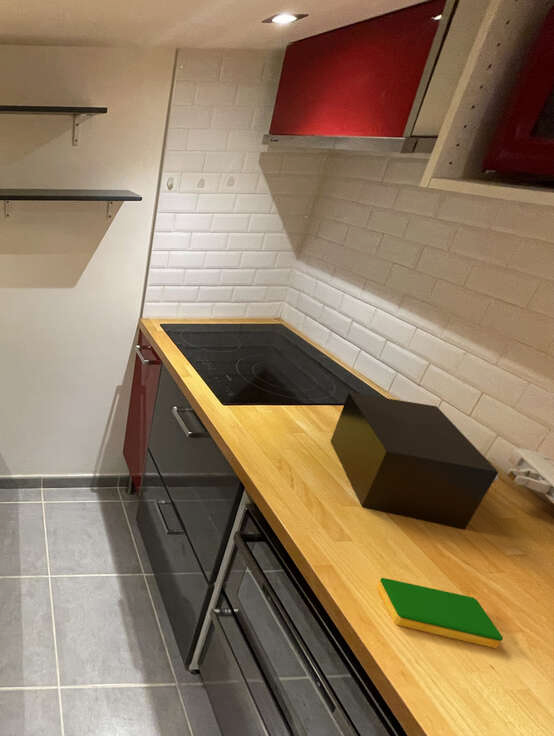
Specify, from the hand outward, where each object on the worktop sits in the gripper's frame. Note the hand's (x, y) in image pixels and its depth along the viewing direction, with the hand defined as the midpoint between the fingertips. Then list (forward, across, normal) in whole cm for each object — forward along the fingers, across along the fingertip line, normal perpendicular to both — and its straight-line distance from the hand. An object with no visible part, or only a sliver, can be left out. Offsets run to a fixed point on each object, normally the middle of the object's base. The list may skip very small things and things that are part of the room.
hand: (511, 475), depth 94 cm
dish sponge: (+26, +36, +8) cm, 45 cm away
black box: (+20, 0, +8) cm, 21 cm away
